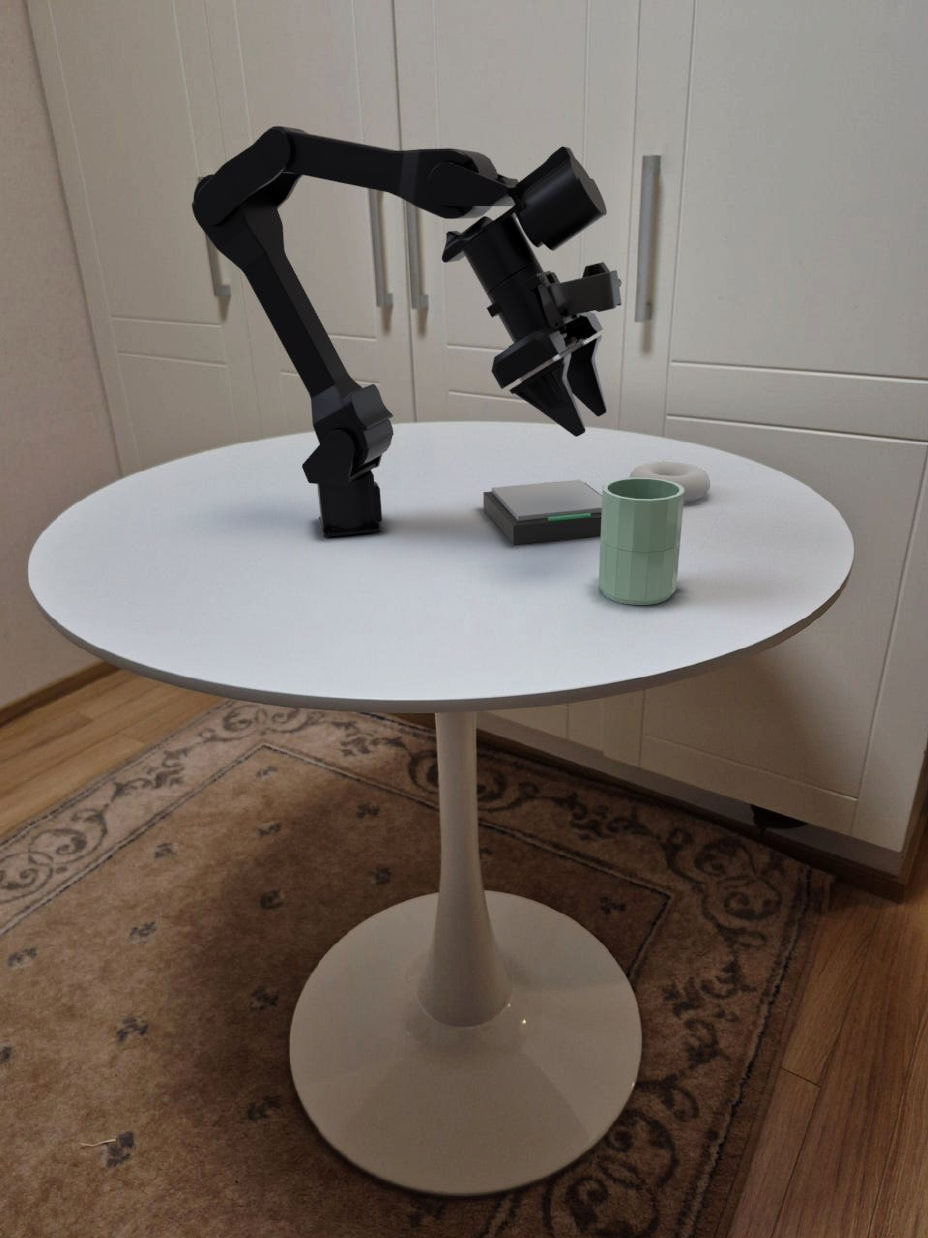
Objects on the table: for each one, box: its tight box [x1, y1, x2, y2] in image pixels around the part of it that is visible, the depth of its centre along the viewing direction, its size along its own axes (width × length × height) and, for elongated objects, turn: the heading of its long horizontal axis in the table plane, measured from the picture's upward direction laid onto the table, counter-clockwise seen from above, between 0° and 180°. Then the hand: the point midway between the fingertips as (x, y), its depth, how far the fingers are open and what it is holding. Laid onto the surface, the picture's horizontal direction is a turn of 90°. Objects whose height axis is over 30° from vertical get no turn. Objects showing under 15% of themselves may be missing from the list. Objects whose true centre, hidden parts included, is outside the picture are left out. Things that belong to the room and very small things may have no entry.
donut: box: [628, 461, 711, 504], centre depth 107 cm, size 10×4×10 cm
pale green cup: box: [598, 477, 685, 606], centre depth 78 cm, size 7×7×10 cm
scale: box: [482, 479, 602, 546], centre depth 99 cm, size 13×13×3 cm
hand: (592, 423), depth 85 cm, fingers open, 9 cm apart
